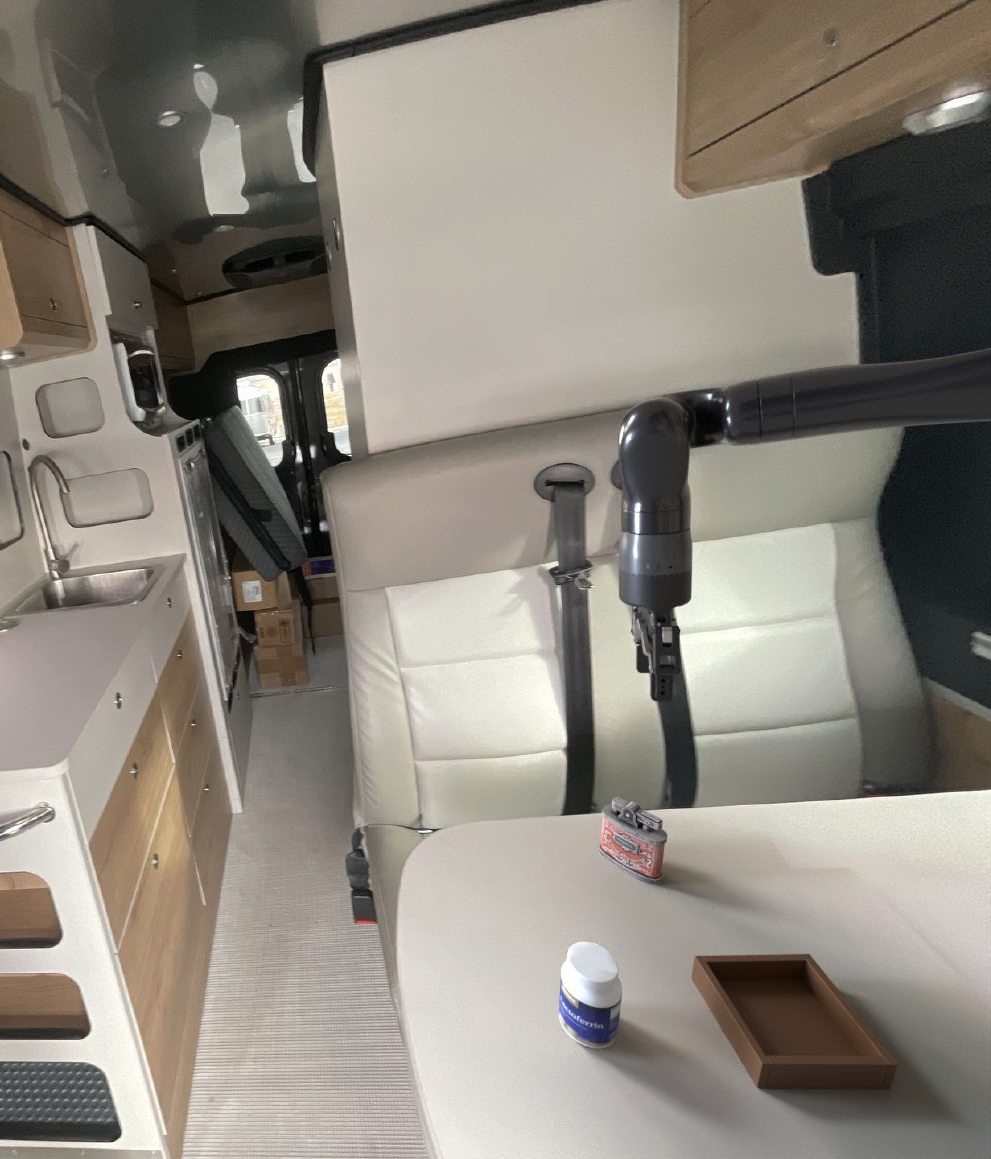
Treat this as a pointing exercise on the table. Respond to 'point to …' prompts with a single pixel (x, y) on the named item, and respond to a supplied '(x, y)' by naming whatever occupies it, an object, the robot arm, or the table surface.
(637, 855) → the lighter
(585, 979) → the pill bottle
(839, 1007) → the tray
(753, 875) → the table surface
